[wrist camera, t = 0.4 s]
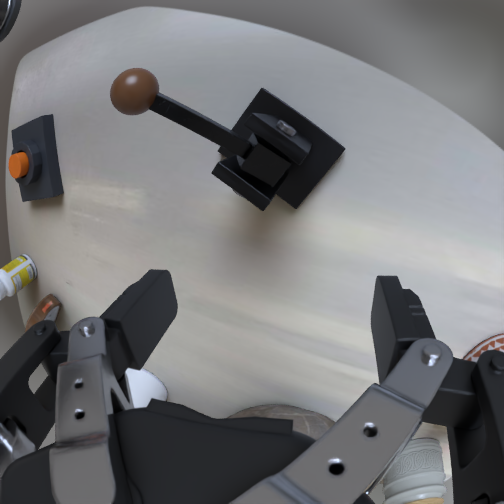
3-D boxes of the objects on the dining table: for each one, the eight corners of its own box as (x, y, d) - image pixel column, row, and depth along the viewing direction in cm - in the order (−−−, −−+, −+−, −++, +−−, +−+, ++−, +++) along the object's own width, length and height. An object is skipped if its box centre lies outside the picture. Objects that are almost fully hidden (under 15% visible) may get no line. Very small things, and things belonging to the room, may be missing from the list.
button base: (21, 128, 35) (3, 132, 32) (52, 114, 33) (32, 117, 30) (31, 197, 40) (14, 205, 36) (63, 192, 38) (45, 200, 34)
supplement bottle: (18, 261, 48) (-15, 284, 39) (25, 248, 45) (-12, 271, 37) (33, 283, 49) (0, 308, 40) (40, 271, 46) (4, 297, 38)
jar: (442, 430, 42) (453, 507, 26) (439, 456, 46) (445, 521, 30) (379, 445, 46) (378, 524, 31) (384, 469, 50) (382, 535, 35)
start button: (15, 154, 33) (7, 156, 32) (27, 149, 32) (18, 152, 31) (19, 177, 34) (10, 180, 33) (31, 173, 34) (22, 176, 32)
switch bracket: (220, 150, 31) (168, 168, 21) (263, 88, 27) (230, 71, 17) (296, 206, 32) (282, 252, 21) (344, 147, 28) (358, 163, 18)
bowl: (193, 389, 49) (159, 457, 35) (330, 362, 40) (324, 455, 26) (256, 456, 55) (240, 514, 42) (368, 441, 46) (367, 509, 33)
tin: (56, 286, 47) (26, 310, 39) (67, 298, 47) (38, 324, 40) (43, 323, 53) (20, 345, 46) (53, 334, 54) (30, 356, 46)
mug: (119, 357, 50) (90, 395, 41) (167, 377, 49) (141, 420, 40) (127, 396, 56) (104, 430, 47) (169, 413, 54) (149, 451, 45)
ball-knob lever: (110, 99, 18) (95, 108, 15) (131, 59, 16) (118, 62, 14) (262, 176, 23) (269, 196, 21) (286, 144, 22) (298, 160, 19)
